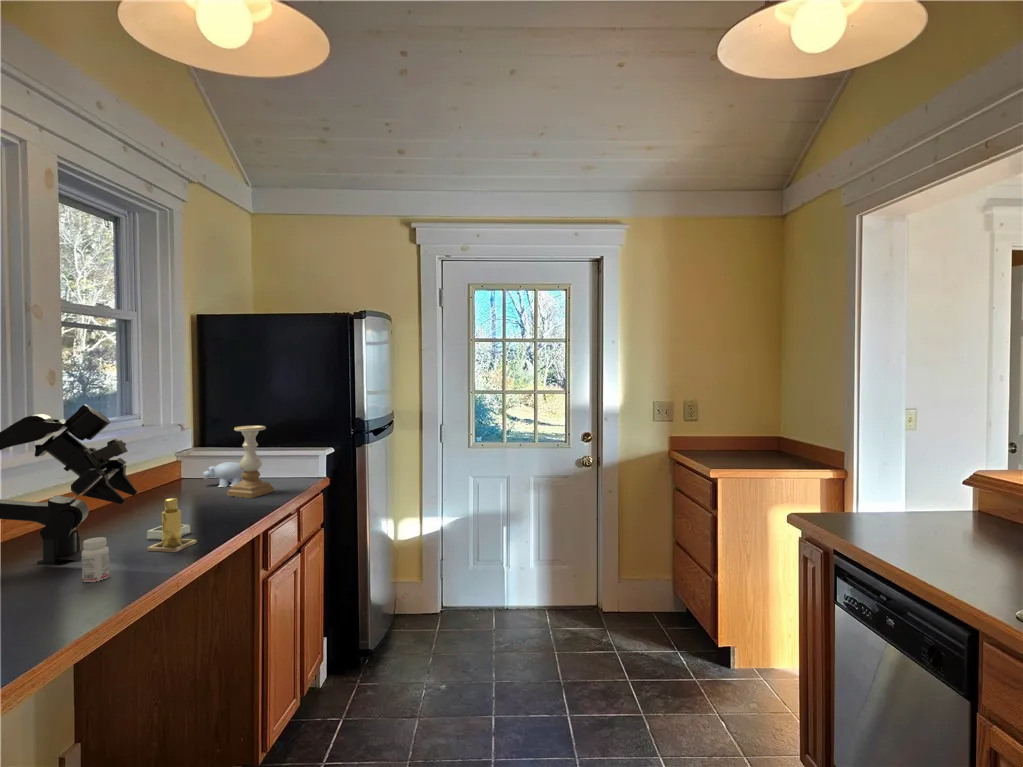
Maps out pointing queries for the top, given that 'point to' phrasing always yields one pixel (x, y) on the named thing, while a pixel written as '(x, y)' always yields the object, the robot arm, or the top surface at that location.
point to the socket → (157, 532)
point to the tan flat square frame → (158, 548)
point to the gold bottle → (171, 524)
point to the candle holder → (250, 467)
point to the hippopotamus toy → (225, 473)
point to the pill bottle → (95, 560)
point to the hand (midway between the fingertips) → (129, 498)
